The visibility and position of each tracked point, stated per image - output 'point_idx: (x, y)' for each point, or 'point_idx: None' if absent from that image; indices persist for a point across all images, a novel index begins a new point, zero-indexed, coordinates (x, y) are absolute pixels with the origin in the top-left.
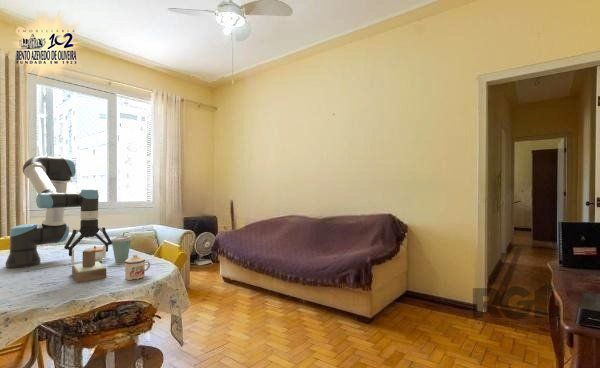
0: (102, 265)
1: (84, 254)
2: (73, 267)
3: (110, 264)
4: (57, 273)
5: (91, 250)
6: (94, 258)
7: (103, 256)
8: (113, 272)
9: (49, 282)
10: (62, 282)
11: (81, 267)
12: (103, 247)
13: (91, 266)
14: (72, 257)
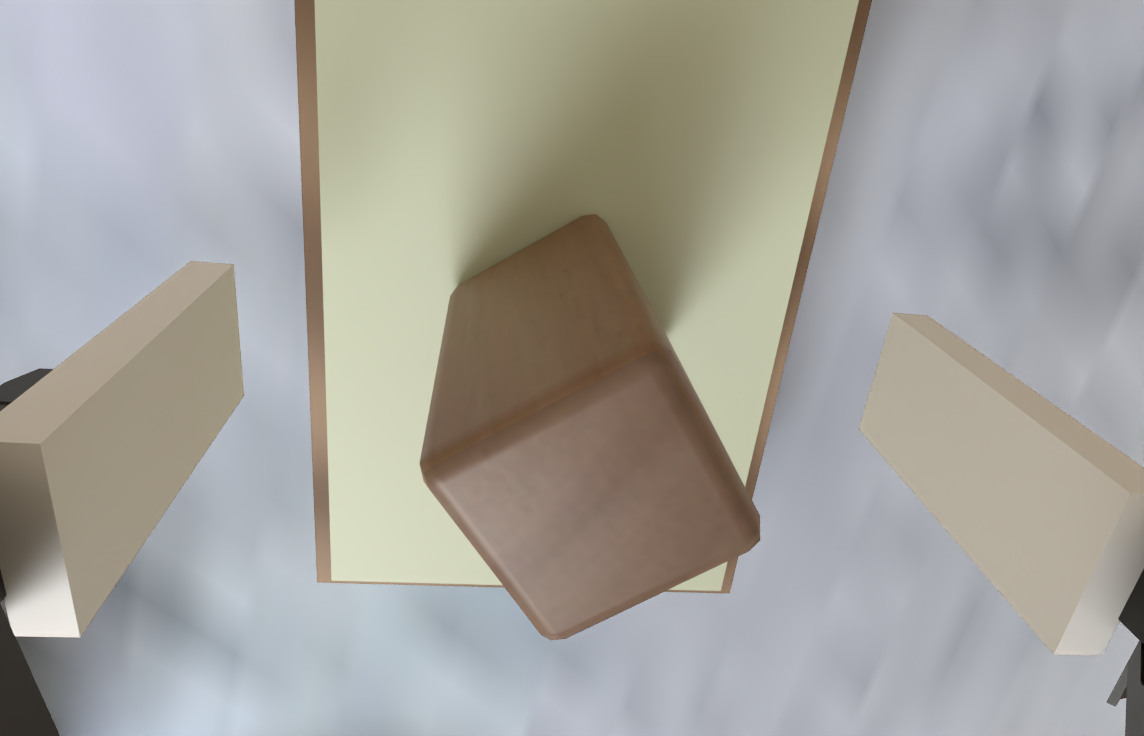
0: (324, 148)
1: (713, 427)
2: (757, 463)
3: (147, 700)
4: (793, 661)
5: (539, 463)
6: (457, 338)
7: (225, 367)
8: (161, 166)
9: (1036, 283)
10: (943, 137)
11: (698, 290)
12: (105, 539)
13: (533, 231)
14: (1003, 370)
